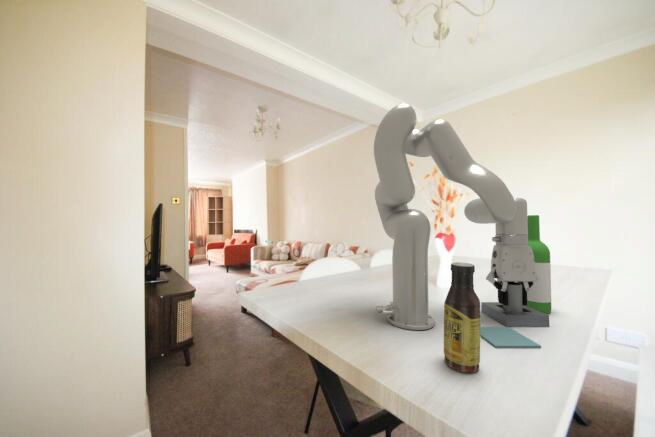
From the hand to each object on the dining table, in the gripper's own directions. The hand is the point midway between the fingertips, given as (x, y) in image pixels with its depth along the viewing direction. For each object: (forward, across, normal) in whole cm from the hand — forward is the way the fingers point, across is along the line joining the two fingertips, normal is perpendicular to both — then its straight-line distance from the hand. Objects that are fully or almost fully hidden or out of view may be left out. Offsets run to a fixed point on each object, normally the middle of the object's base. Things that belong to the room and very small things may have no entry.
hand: (512, 303), depth 72 cm
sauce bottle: (+5, -27, -24) cm, 36 cm away
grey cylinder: (+5, 0, 0) cm, 5 cm away
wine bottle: (+5, +12, +7) cm, 15 cm away
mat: (+4, -11, -12) cm, 17 cm away
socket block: (+4, 0, 0) cm, 4 cm away
